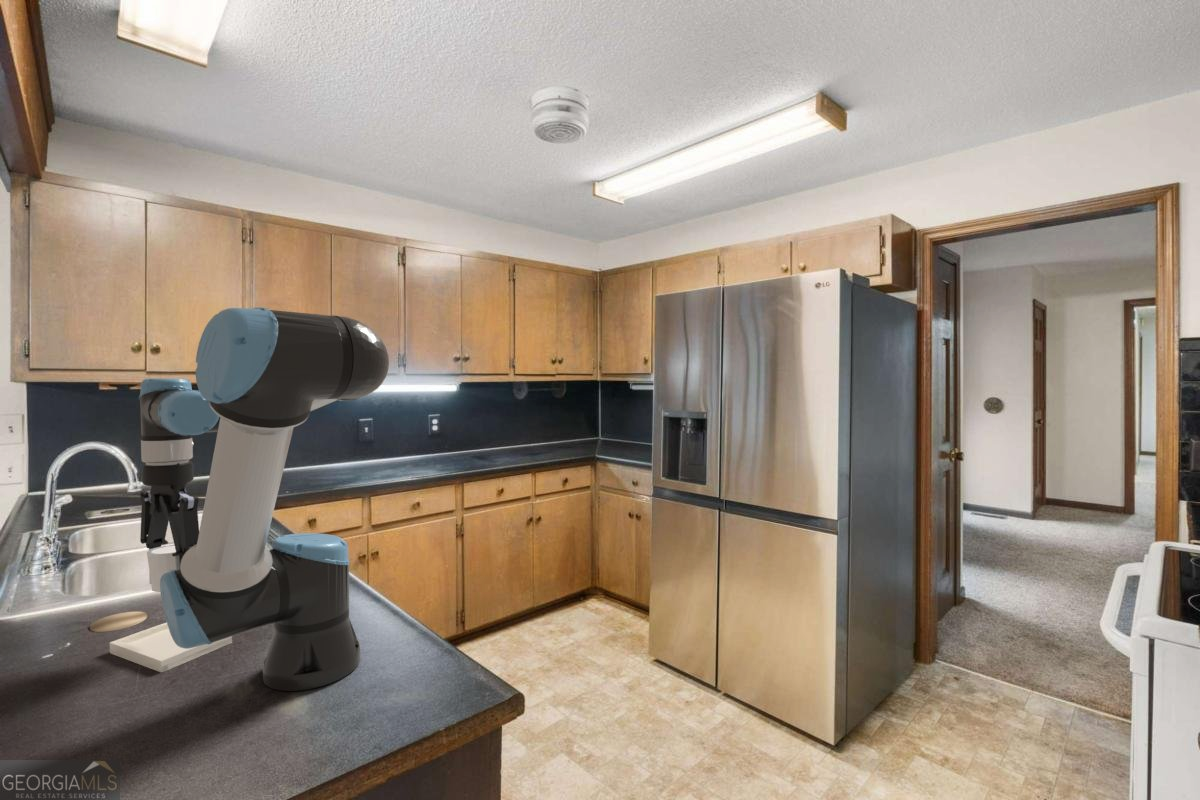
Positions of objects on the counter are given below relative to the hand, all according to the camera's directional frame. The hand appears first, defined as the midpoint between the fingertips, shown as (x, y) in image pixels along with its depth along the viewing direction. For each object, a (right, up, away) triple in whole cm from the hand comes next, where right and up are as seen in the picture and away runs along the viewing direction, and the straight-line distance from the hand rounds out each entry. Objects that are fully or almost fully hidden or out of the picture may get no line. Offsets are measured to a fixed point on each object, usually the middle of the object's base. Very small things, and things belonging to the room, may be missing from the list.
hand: (170, 584), depth 104 cm
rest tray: (0, -12, 0) cm, 12 cm away
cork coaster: (-19, -12, +11) cm, 25 cm away
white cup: (0, -1, 0) cm, 1 cm away
